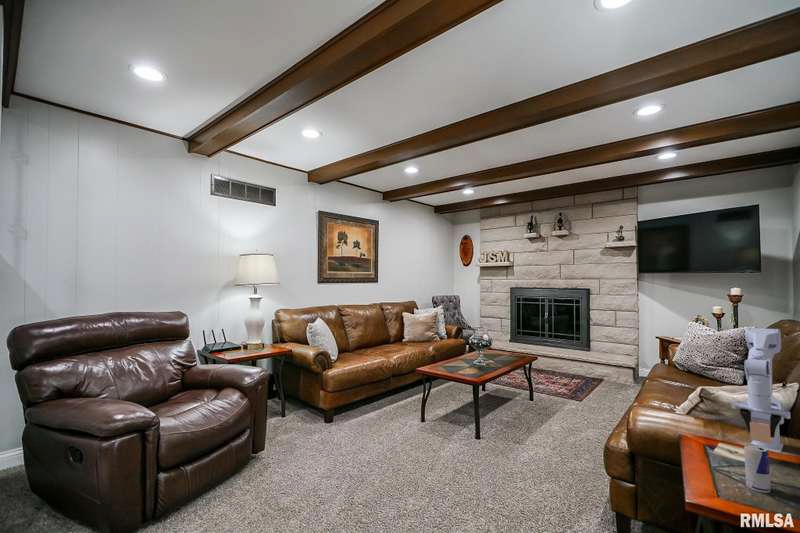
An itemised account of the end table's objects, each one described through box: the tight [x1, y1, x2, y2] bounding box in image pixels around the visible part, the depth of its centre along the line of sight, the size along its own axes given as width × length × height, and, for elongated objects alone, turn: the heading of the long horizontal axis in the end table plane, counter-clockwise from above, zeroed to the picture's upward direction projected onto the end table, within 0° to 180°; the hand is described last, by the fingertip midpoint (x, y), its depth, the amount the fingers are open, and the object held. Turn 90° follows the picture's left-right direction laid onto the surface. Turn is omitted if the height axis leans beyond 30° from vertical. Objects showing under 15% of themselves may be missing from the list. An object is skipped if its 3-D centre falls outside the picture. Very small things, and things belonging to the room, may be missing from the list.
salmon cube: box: [749, 418, 773, 444], centre depth 130 cm, size 5×5×6 cm
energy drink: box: [743, 443, 772, 494], centre depth 113 cm, size 5×5×12 cm
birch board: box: [711, 442, 745, 463], centre depth 136 cm, size 13×9×1 cm
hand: (761, 434), depth 130 cm, fingers closed on salmon cube, 5 cm apart
